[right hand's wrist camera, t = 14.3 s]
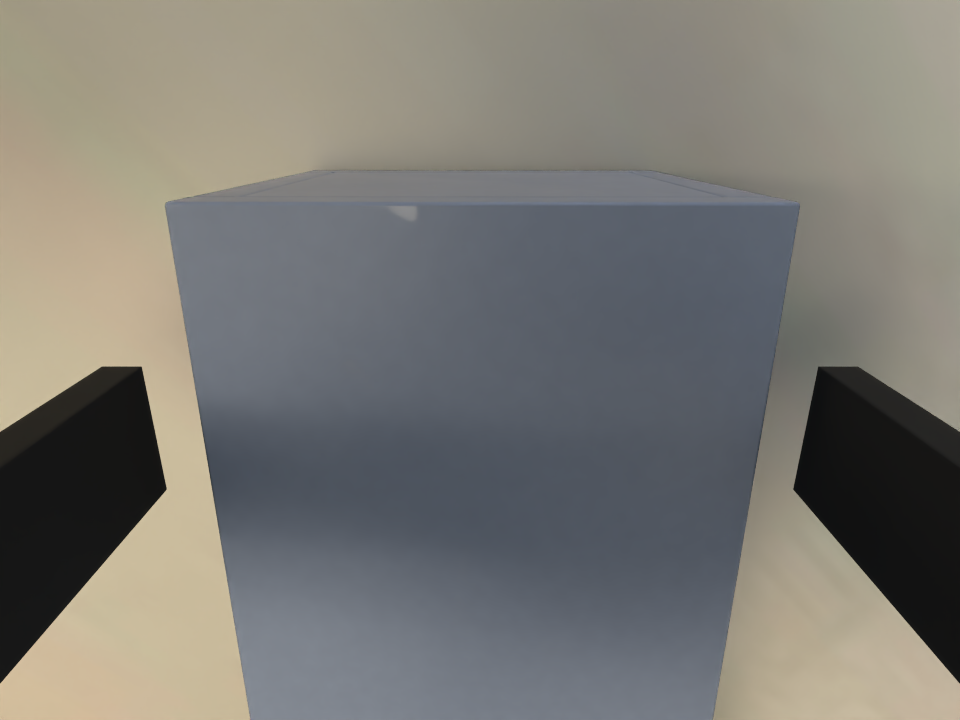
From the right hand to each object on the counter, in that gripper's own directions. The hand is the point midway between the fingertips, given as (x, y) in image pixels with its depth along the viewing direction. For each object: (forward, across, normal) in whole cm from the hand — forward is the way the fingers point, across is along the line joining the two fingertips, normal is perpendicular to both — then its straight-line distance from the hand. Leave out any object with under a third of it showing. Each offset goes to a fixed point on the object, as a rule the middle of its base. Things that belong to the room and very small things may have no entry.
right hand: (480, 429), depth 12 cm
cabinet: (+8, 0, -6) cm, 10 cm away
